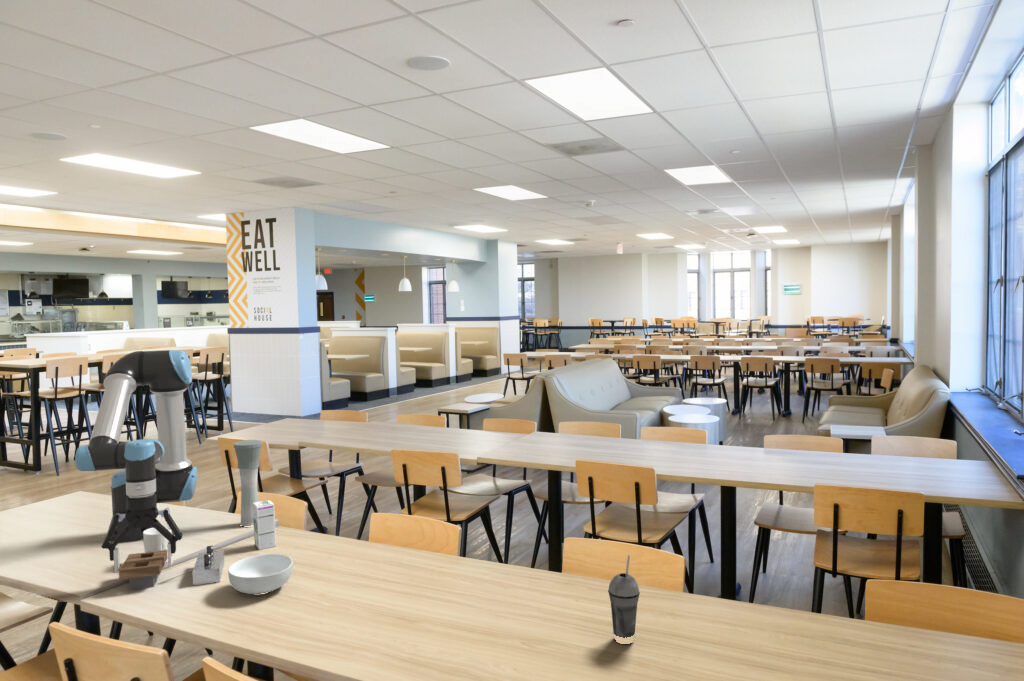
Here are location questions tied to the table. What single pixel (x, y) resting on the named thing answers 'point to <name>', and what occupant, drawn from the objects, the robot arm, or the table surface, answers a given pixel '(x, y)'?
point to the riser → (142, 582)
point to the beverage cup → (624, 603)
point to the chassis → (208, 567)
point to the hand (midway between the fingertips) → (144, 568)
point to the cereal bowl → (260, 573)
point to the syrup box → (264, 524)
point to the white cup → (155, 540)
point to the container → (248, 477)
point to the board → (143, 564)
